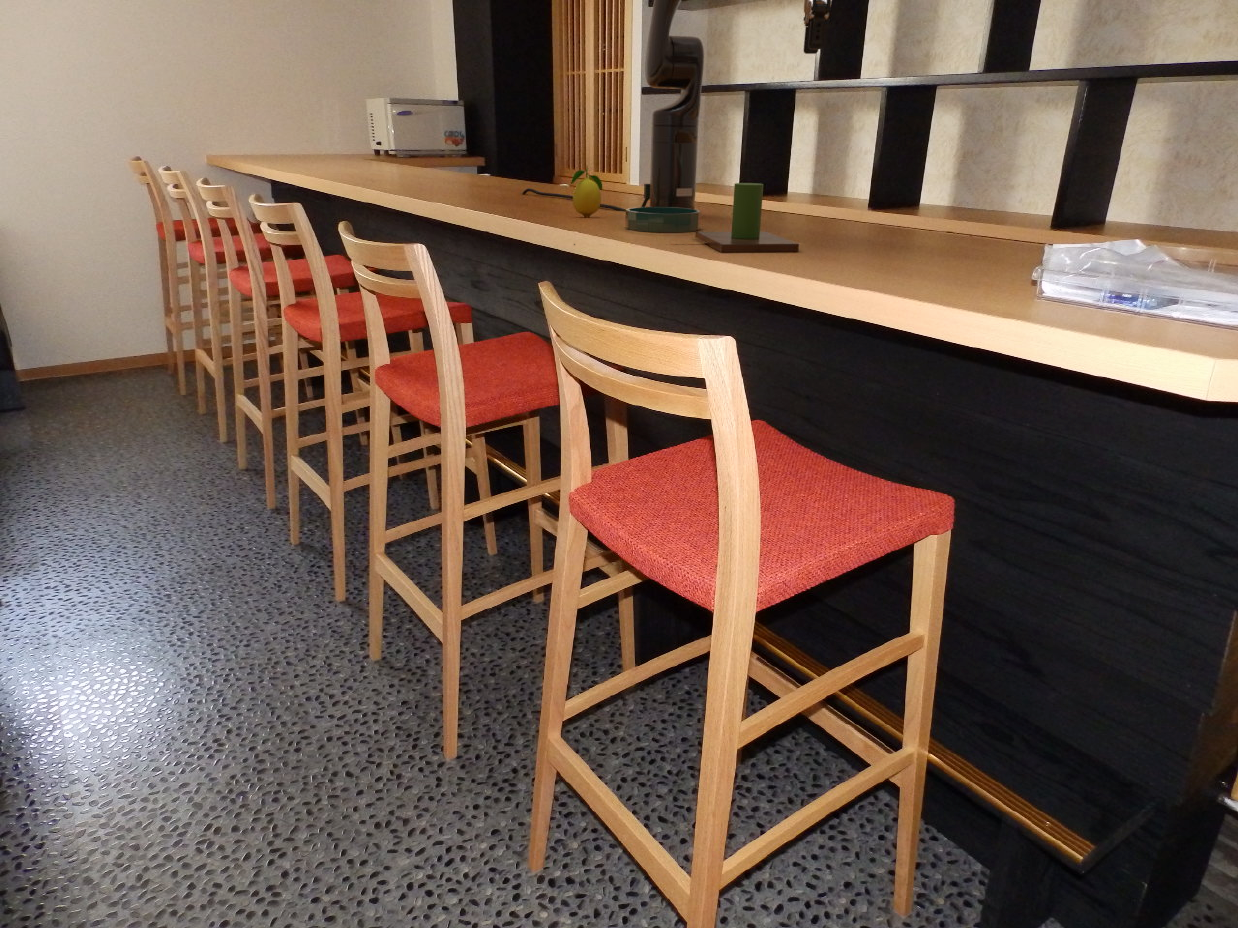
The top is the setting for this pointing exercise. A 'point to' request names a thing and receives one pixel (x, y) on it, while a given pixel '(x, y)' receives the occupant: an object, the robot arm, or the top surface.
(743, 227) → the tall green pillar
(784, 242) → the board
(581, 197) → the lemon
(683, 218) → the bowl
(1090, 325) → the top surface
